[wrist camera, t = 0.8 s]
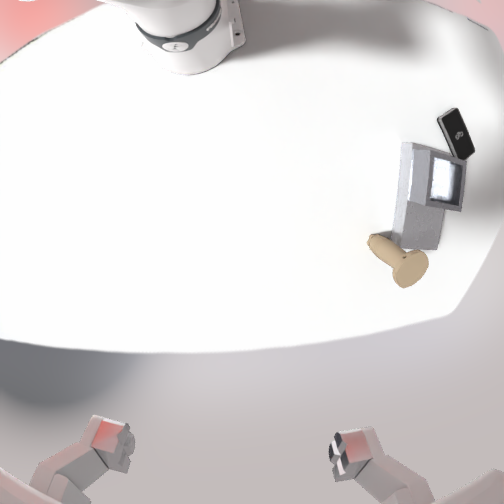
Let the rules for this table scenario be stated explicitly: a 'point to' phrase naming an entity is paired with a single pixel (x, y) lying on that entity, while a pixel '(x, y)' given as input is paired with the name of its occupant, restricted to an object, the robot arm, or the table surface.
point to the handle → (399, 260)
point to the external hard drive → (456, 134)
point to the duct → (425, 195)
